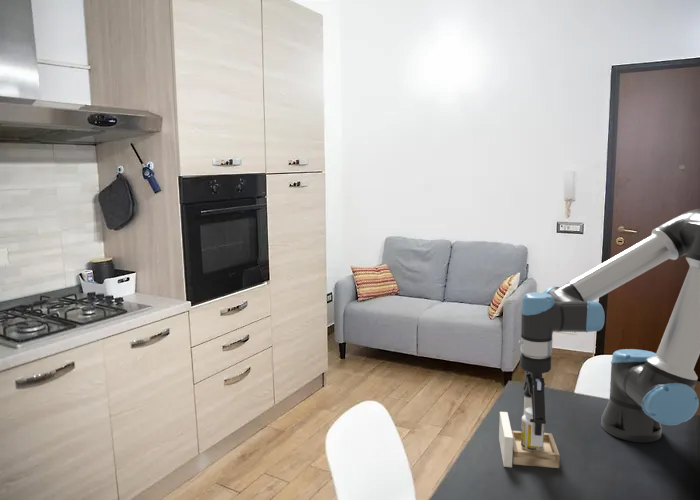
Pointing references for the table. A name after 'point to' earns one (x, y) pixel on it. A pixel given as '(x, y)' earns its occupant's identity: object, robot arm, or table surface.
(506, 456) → the backstop
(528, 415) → the supplement bottle
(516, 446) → the beige shadow box
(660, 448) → the table surface
